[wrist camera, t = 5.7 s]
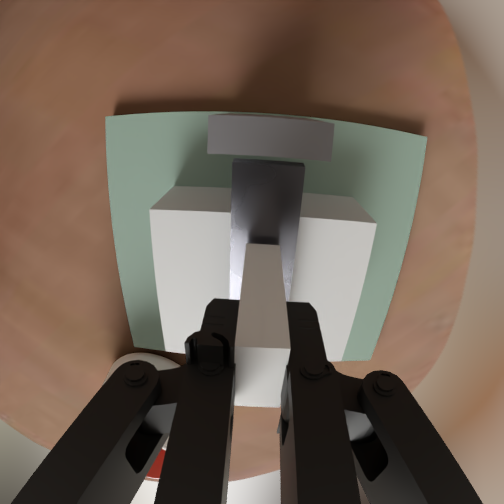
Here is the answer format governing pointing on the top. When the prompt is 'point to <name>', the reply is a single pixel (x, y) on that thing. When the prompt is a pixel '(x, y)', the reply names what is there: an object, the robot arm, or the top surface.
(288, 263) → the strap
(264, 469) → the top surface
